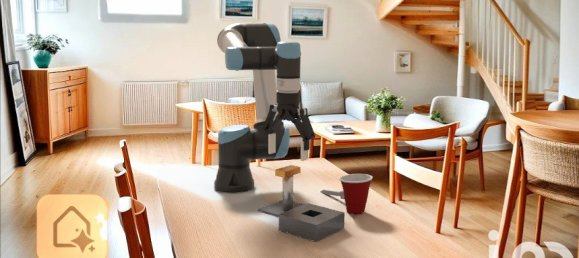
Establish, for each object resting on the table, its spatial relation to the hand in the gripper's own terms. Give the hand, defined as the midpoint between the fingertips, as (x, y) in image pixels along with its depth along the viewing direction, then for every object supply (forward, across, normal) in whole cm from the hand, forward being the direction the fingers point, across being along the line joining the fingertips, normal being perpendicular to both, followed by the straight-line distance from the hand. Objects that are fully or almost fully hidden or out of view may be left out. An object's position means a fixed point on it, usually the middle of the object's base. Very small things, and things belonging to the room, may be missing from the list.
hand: (287, 156), depth 178 cm
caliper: (+19, +5, +21) cm, 29 cm away
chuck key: (+18, +1, 0) cm, 18 cm away
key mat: (+18, +1, 0) cm, 18 cm away
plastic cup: (+18, +18, +14) cm, 29 cm away
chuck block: (+18, +17, -8) cm, 26 cm away
